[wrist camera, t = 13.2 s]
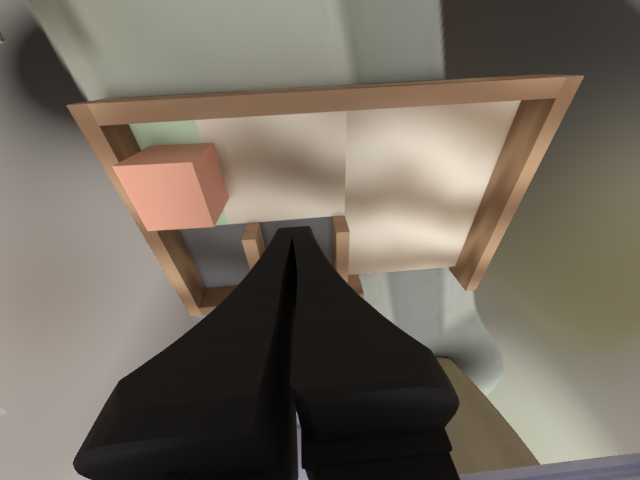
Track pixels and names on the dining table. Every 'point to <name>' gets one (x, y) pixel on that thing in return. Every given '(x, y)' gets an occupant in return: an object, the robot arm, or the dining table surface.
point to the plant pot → (481, 430)
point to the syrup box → (1, 39)
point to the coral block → (175, 185)
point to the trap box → (344, 171)
